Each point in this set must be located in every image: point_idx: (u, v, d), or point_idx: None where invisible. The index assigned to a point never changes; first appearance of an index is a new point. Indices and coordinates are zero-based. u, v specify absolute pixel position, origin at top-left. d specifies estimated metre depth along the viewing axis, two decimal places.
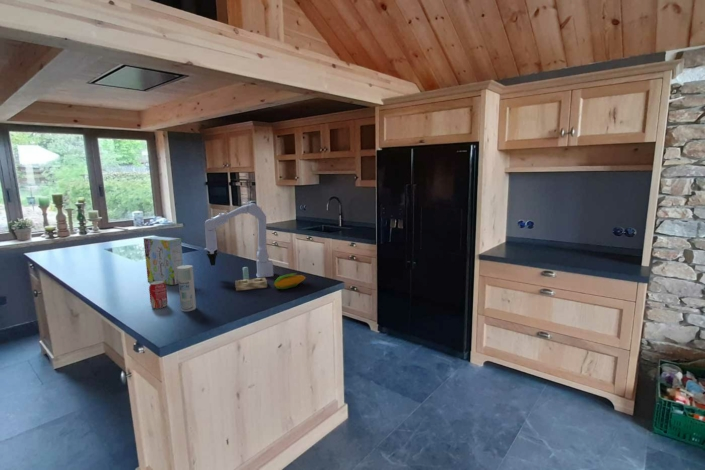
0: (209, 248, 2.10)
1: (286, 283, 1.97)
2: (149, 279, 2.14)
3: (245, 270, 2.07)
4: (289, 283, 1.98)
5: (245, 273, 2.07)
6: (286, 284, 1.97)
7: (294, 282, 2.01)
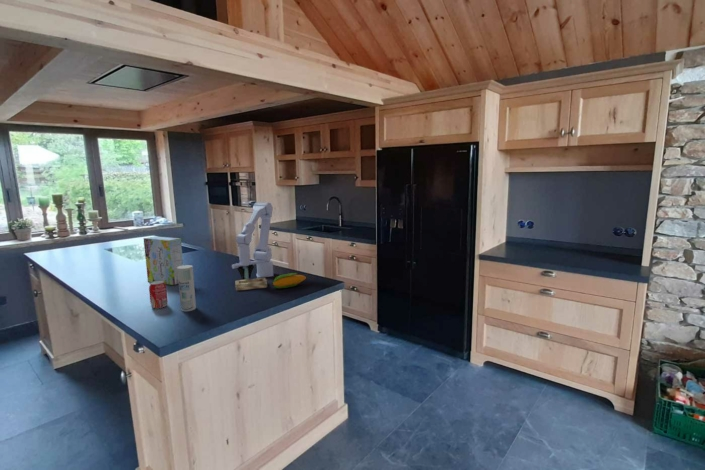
0: None
1: (284, 282, 1.98)
2: (149, 279, 2.14)
3: (245, 270, 2.07)
4: (288, 283, 1.99)
5: (245, 273, 2.07)
6: (284, 284, 1.98)
7: (293, 282, 2.02)
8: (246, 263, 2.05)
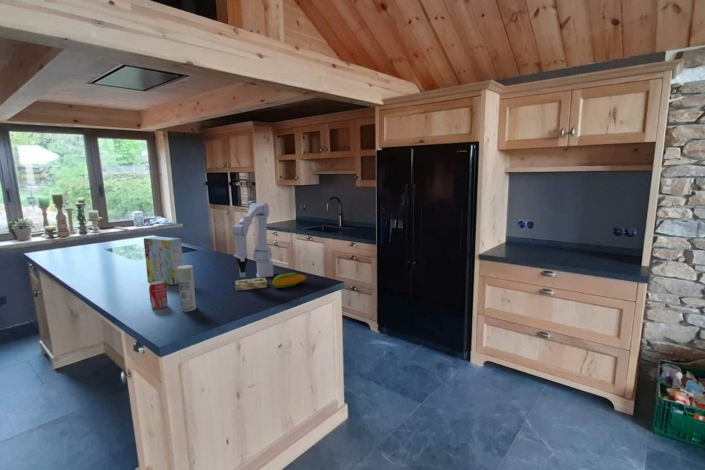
0: (239, 255, 1.96)
1: (284, 282, 1.99)
2: (149, 279, 2.14)
3: None
4: (287, 282, 2.00)
5: None
6: (283, 283, 1.99)
7: (293, 281, 2.02)
8: (247, 254, 1.99)
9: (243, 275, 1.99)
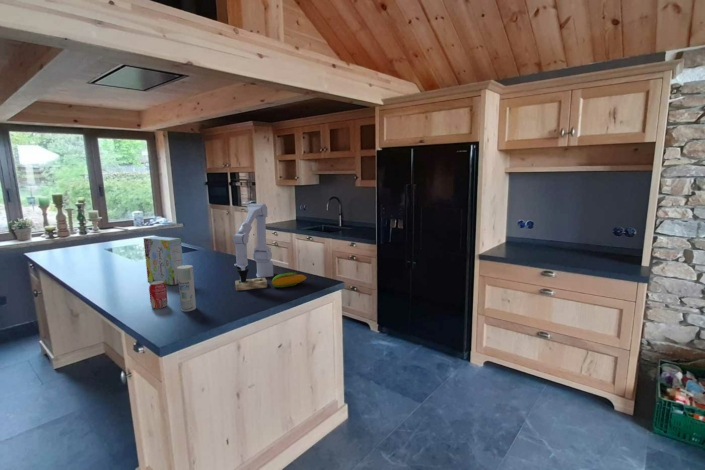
0: (240, 264, 1.96)
1: (283, 281, 1.99)
2: (149, 279, 2.14)
3: None
4: (286, 282, 2.01)
5: None
6: (282, 283, 1.99)
7: (292, 281, 2.02)
8: (247, 262, 2.00)
9: None
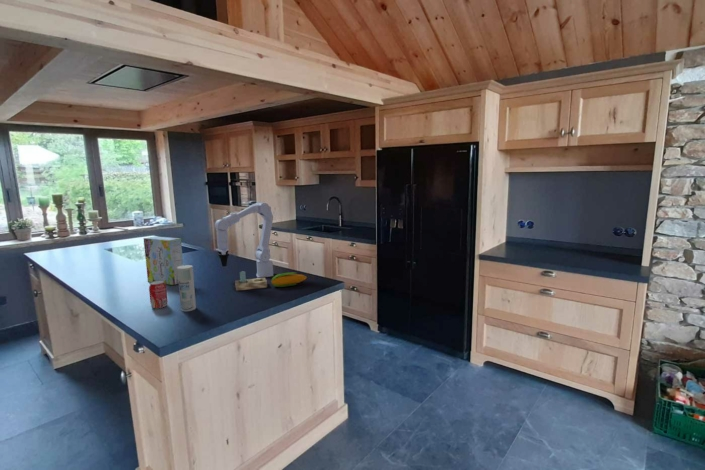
0: (221, 249, 2.06)
1: (282, 281, 2.00)
2: (149, 279, 2.14)
3: (245, 274, 2.00)
4: (286, 282, 2.01)
5: (245, 277, 2.00)
6: (282, 283, 2.00)
7: (292, 281, 2.03)
8: (228, 248, 2.10)
9: None
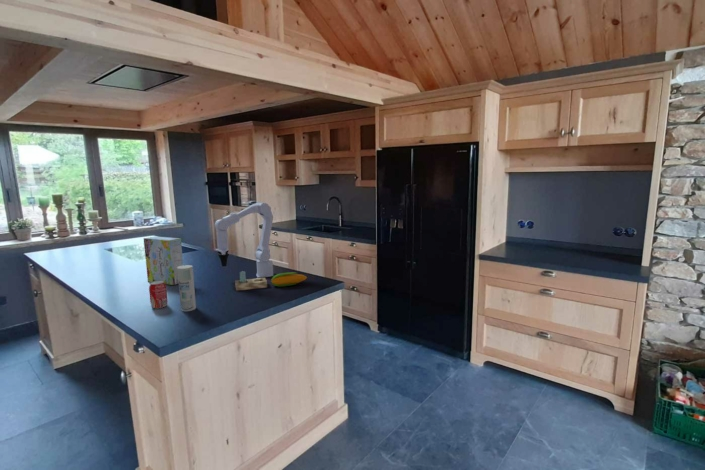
0: (220, 249, 2.06)
1: (282, 280, 2.01)
2: (149, 279, 2.14)
3: (245, 274, 2.00)
4: (285, 281, 2.02)
5: (245, 277, 2.00)
6: (281, 282, 2.01)
7: (291, 281, 2.03)
8: (228, 248, 2.10)
9: None
